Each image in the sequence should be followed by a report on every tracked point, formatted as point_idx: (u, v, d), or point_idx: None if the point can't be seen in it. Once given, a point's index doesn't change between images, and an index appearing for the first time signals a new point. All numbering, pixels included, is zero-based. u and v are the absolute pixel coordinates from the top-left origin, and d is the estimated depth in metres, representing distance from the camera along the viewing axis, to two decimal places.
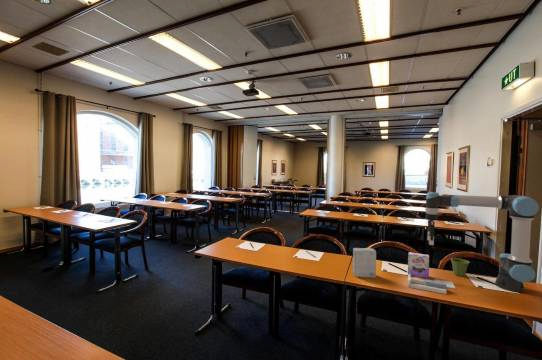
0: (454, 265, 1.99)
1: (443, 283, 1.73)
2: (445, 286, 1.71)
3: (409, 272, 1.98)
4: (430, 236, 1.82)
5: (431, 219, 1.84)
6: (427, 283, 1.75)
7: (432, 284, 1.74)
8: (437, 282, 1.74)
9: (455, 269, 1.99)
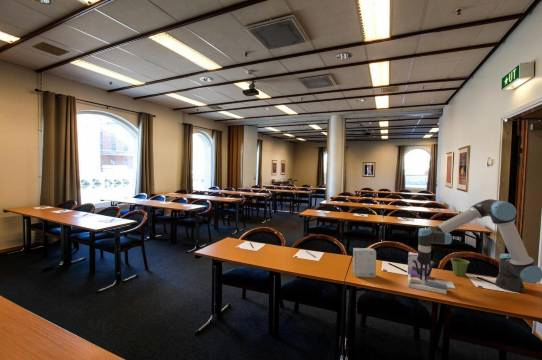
0: (454, 265, 1.99)
1: (443, 283, 1.73)
2: (445, 286, 1.70)
3: (409, 272, 1.98)
4: None
5: None
6: (427, 283, 1.75)
7: (432, 284, 1.74)
8: (437, 282, 1.74)
9: (455, 269, 1.99)
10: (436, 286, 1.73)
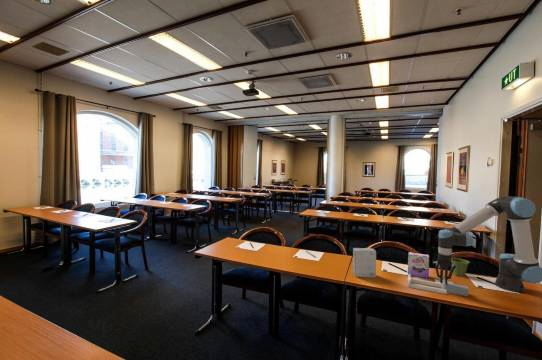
0: None
1: (464, 287, 1.68)
2: (467, 290, 1.65)
3: (409, 272, 1.98)
4: None
5: None
6: (448, 287, 1.70)
7: (453, 288, 1.69)
8: (458, 286, 1.69)
9: (455, 269, 1.99)
10: (457, 290, 1.68)
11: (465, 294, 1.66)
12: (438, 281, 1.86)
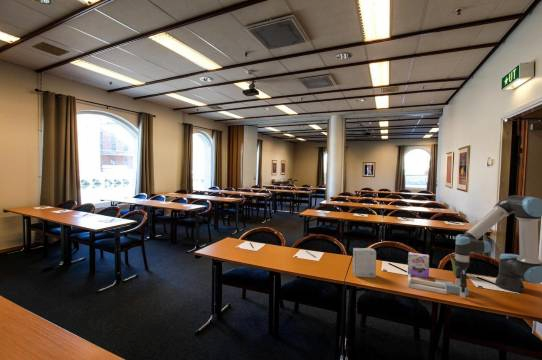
0: (454, 265, 1.99)
1: None
2: (467, 290, 1.66)
3: (409, 272, 1.98)
4: (461, 287, 1.62)
5: (462, 267, 1.65)
6: (448, 287, 1.70)
7: (453, 288, 1.69)
8: (458, 286, 1.69)
9: (455, 269, 1.99)
10: (457, 290, 1.68)
11: (465, 294, 1.66)
12: (438, 281, 1.86)
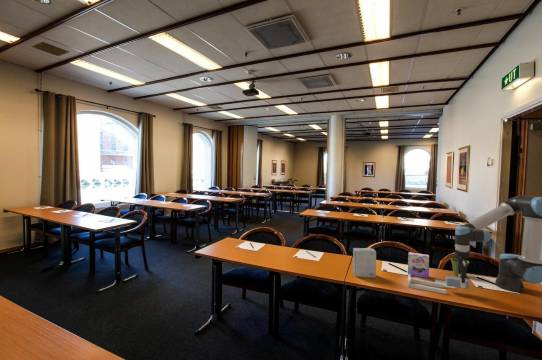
0: (454, 265, 1.99)
1: None
2: (468, 282, 1.65)
3: (409, 272, 1.98)
4: (461, 278, 1.66)
5: (463, 257, 1.65)
6: (449, 280, 1.69)
7: (454, 281, 1.68)
8: (459, 278, 1.69)
9: (455, 269, 1.99)
10: (458, 283, 1.67)
11: (466, 287, 1.66)
12: (438, 281, 1.86)
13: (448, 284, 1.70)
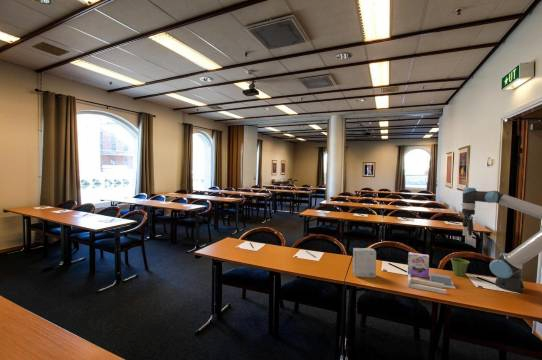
0: (454, 265, 1.99)
1: (447, 276, 1.82)
2: (449, 279, 1.79)
3: (409, 272, 1.98)
4: (468, 231, 1.83)
5: (469, 214, 1.85)
6: (432, 277, 1.84)
7: (437, 278, 1.83)
8: (442, 276, 1.83)
9: (455, 269, 1.99)
10: (441, 279, 1.82)
11: (448, 283, 1.80)
12: None
13: (432, 281, 1.84)
